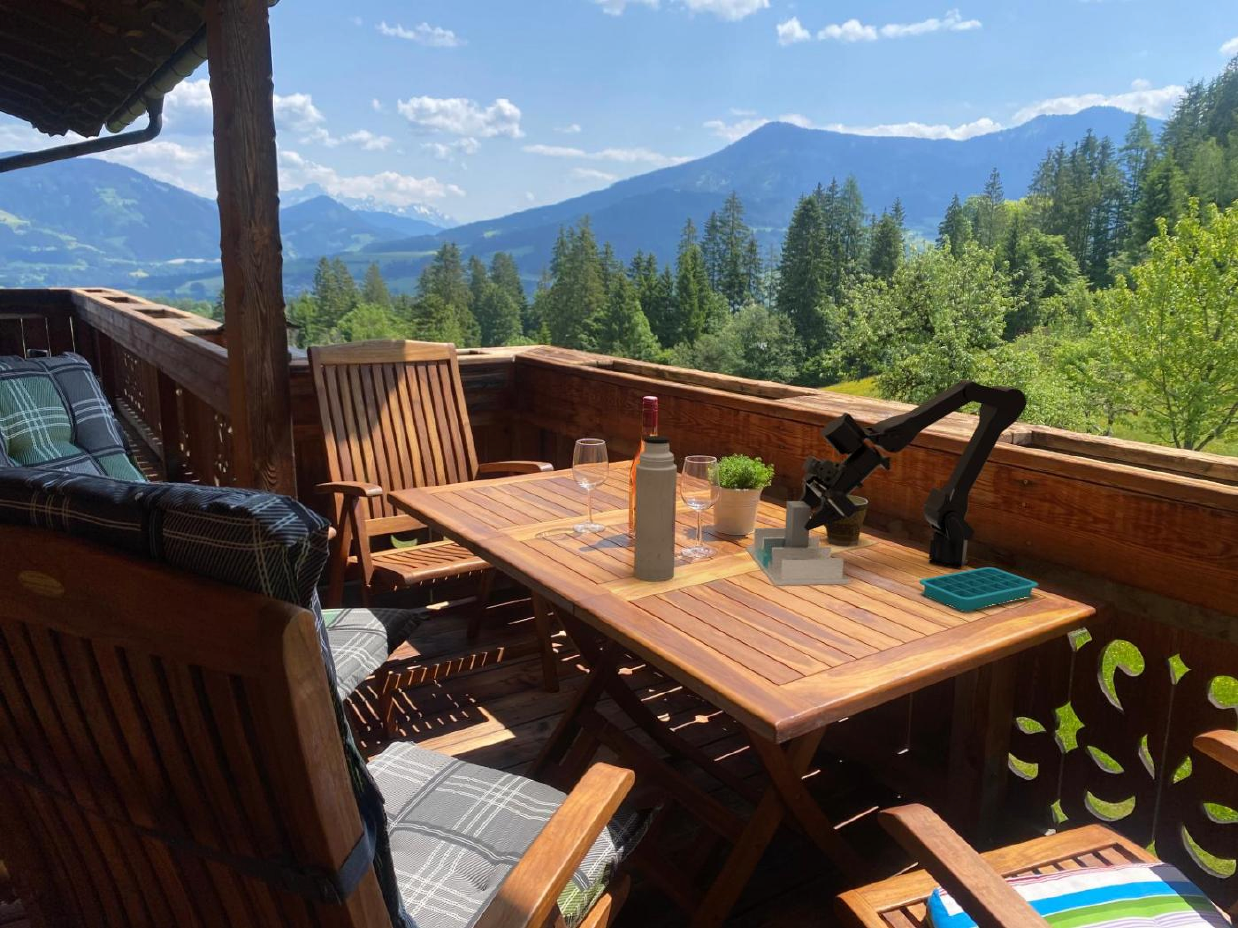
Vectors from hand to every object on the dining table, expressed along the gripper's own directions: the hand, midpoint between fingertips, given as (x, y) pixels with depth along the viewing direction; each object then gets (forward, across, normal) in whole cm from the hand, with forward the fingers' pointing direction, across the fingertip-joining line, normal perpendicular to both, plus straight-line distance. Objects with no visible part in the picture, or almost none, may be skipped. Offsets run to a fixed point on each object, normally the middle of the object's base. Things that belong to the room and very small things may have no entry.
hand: (798, 522), depth 176 cm
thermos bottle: (+28, +4, -15) cm, 32 cm away
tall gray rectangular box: (+6, 0, +6) cm, 8 cm away
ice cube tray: (-14, +19, +28) cm, 37 cm away
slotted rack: (+7, 0, +6) cm, 9 cm away
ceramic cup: (-3, -17, +17) cm, 24 cm away
